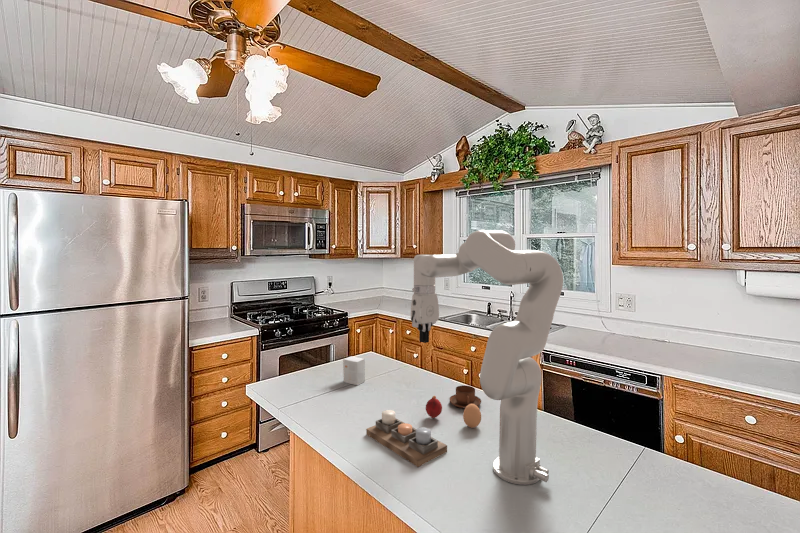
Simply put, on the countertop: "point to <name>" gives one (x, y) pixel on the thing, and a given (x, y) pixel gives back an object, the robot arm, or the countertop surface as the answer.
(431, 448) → the button board
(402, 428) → the terracotta button
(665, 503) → the countertop surface
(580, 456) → the countertop surface
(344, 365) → the small box
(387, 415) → the cream button
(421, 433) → the grey button
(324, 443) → the countertop surface
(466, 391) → the cup and saucer
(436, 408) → the red fruit
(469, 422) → the egg
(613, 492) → the countertop surface
